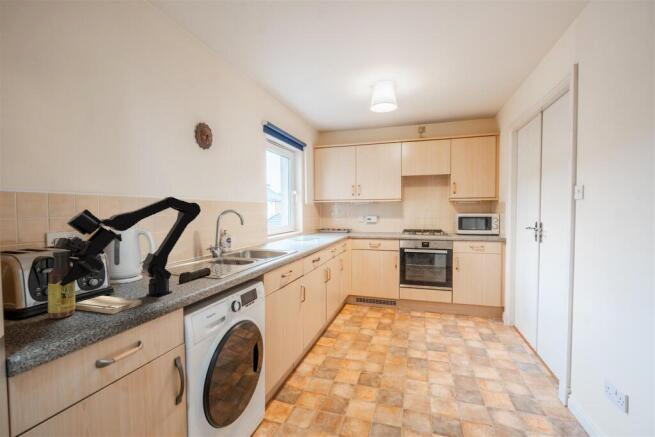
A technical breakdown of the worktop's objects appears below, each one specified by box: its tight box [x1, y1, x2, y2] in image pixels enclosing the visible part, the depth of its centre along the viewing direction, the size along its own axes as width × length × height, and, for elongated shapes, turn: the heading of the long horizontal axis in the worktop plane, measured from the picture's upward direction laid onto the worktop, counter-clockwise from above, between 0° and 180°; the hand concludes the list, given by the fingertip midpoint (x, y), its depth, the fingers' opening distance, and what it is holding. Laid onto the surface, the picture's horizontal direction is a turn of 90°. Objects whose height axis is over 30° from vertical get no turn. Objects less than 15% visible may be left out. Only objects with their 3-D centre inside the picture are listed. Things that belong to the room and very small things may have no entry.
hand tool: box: [178, 267, 212, 284], centre depth 139 cm, size 19×4×5 cm, turn 161°
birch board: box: [75, 295, 142, 315], centre depth 99 cm, size 10×18×2 cm, turn 74°
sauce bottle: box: [47, 250, 76, 320], centre depth 90 cm, size 6×6×20 cm
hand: (55, 284), depth 89 cm, fingers closed on sauce bottle, 6 cm apart
